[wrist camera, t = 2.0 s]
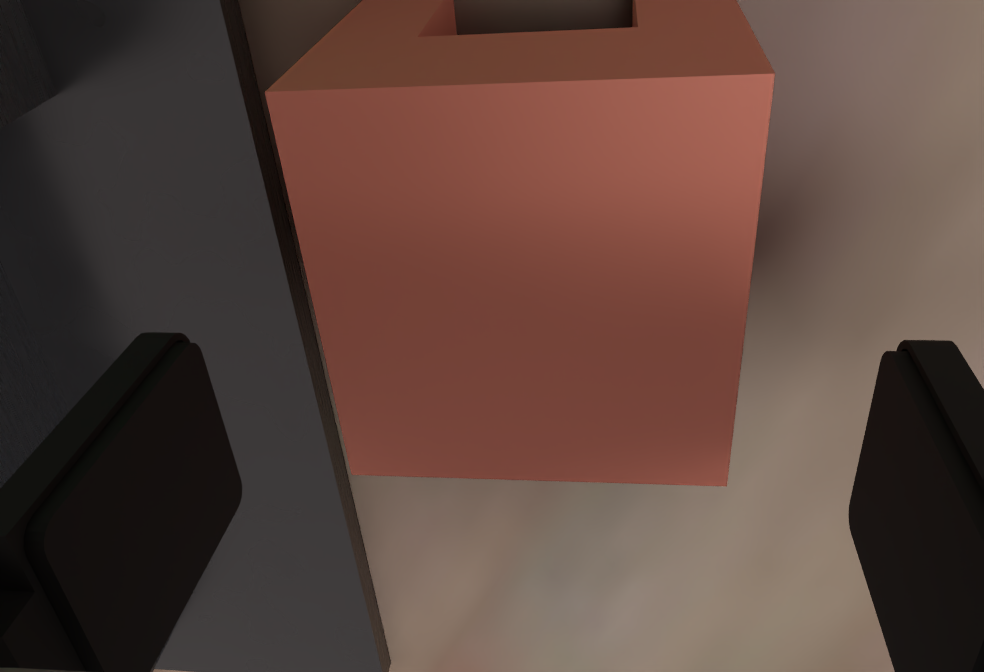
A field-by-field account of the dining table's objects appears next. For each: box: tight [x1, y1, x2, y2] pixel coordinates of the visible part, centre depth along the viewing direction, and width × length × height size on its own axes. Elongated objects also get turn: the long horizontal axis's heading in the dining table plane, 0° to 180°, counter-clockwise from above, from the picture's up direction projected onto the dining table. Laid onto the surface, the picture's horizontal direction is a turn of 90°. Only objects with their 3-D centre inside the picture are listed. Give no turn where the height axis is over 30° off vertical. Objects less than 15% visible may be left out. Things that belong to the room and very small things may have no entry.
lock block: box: [265, 0, 775, 486], centre depth 15 cm, size 7×7×6 cm
